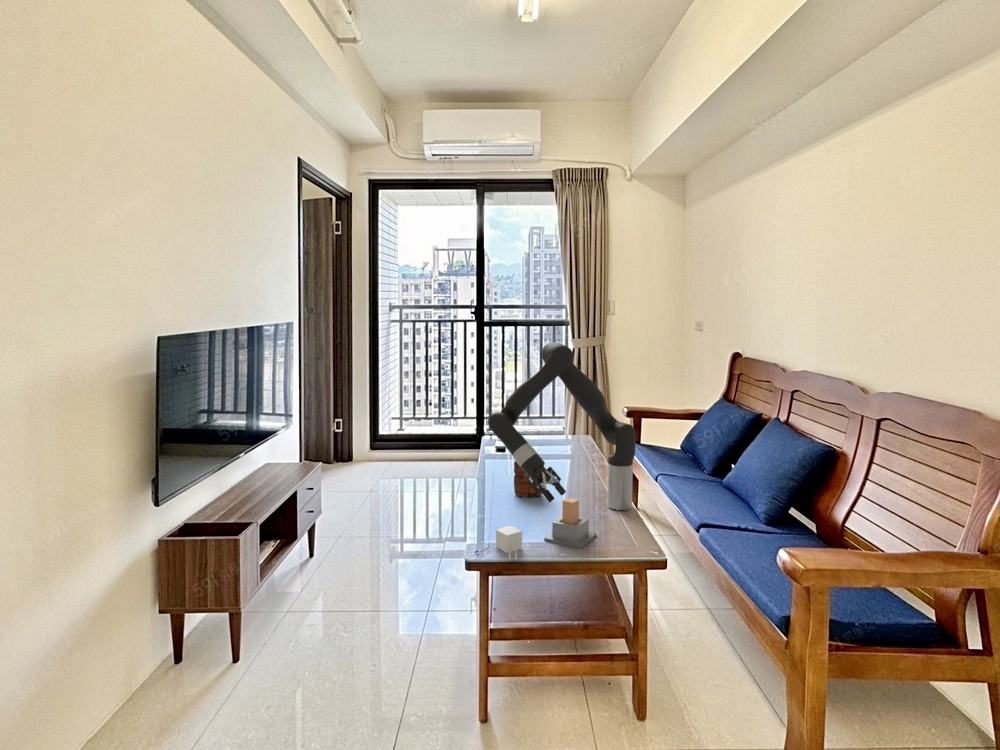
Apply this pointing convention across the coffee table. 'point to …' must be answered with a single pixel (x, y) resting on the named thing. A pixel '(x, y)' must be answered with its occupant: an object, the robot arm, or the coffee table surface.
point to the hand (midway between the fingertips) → (558, 497)
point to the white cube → (509, 539)
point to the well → (570, 533)
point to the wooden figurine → (523, 483)
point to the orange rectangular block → (570, 511)
